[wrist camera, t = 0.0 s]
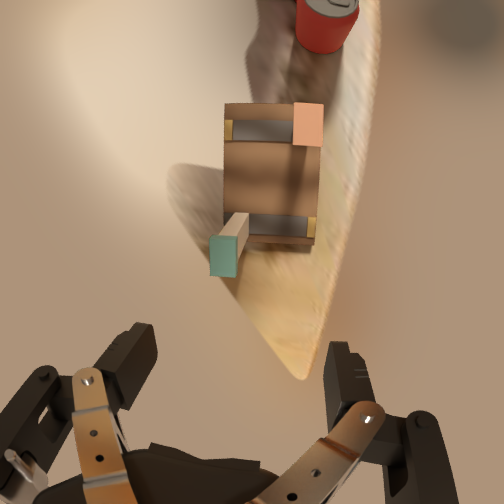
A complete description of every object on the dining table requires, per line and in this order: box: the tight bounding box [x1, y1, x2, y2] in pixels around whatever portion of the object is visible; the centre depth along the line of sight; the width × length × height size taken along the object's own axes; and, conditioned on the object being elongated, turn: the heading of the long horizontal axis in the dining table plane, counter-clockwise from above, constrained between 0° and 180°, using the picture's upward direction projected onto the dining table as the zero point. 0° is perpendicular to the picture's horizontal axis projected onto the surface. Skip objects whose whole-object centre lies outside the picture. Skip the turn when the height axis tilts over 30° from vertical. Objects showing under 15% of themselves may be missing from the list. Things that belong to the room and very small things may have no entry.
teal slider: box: [209, 212, 249, 278], centre depth 33 cm, size 4×2×12 cm, turn 179°
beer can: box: [295, 0, 359, 54], centre depth 25 cm, size 7×7×12 cm
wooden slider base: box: [224, 103, 321, 245], centre depth 37 cm, size 18×12×2 cm, turn 179°
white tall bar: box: [293, 102, 324, 147], centre depth 28 cm, size 4×2×12 cm, turn 179°
